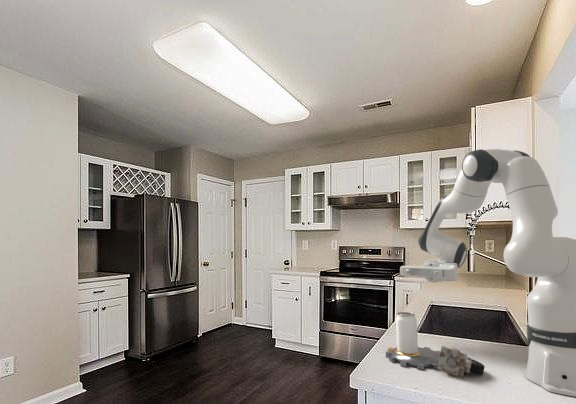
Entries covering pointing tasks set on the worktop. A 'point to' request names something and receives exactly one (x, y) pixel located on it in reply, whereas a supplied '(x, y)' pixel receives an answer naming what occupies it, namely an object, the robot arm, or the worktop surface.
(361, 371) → the worktop surface
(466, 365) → the caster wheel
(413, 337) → the can
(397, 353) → the sprocket plate
